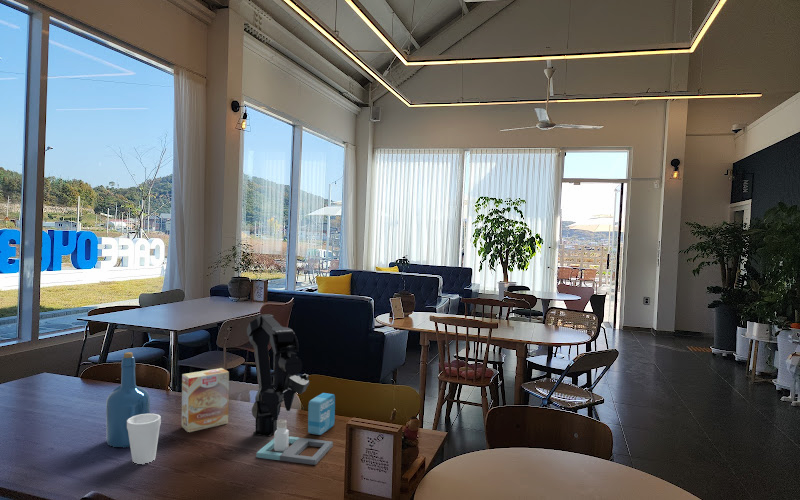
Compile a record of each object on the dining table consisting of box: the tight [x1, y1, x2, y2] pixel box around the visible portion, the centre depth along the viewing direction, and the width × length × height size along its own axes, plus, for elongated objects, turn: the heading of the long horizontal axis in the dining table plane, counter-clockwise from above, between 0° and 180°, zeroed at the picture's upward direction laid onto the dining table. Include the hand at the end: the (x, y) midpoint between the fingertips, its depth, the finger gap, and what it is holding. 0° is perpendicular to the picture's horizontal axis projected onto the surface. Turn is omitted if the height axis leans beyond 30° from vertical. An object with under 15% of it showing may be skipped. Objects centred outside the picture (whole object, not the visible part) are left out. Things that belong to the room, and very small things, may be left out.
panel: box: [255, 435, 334, 466], centre depth 176 cm, size 20×15×2 cm
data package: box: [307, 392, 336, 436], centre depth 195 cm, size 12×4×12 cm, turn 160°
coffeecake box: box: [181, 367, 230, 433], centre depth 197 cm, size 15×7×20 cm, turn 131°
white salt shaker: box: [273, 419, 290, 453], centre depth 177 cm, size 4×4×10 cm
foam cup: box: [127, 413, 162, 465], centre depth 167 cm, size 10×9×13 cm
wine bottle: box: [105, 351, 151, 449], centre depth 181 cm, size 14×13×30 cm
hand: (282, 415), depth 177 cm, fingers open, 9 cm apart
